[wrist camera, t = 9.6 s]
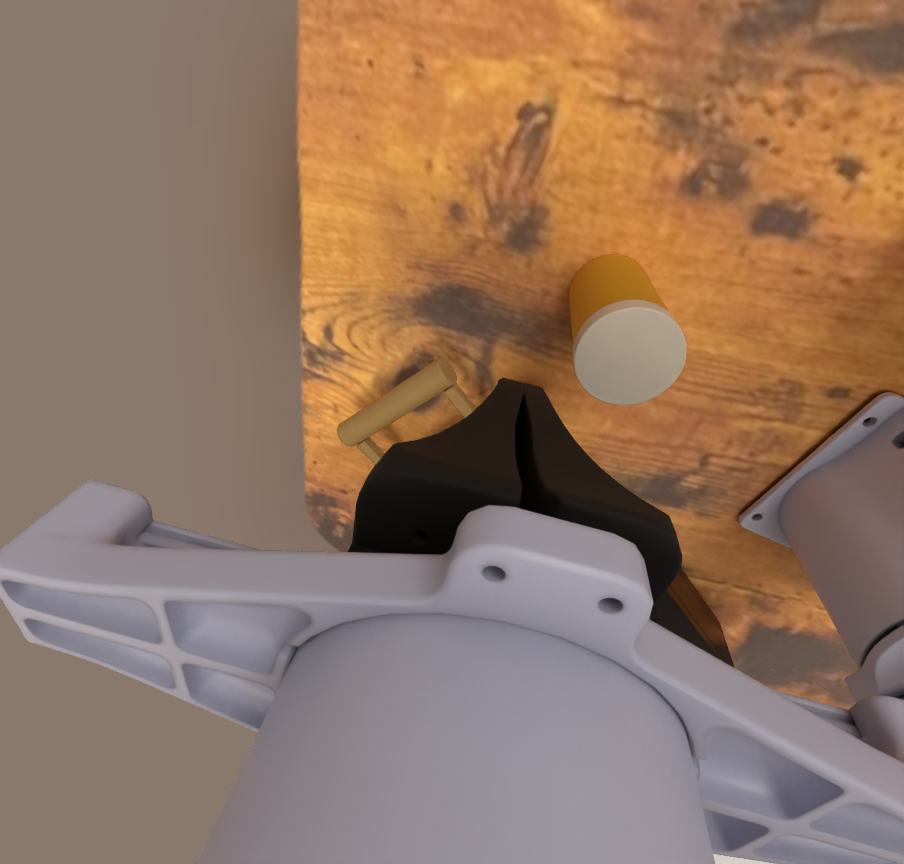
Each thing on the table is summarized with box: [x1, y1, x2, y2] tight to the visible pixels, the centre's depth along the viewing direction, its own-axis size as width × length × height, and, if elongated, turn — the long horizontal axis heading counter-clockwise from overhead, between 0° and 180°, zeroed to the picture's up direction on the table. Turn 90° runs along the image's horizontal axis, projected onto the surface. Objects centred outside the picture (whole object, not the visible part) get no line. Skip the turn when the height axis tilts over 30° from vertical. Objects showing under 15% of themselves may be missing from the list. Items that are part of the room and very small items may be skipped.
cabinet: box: [656, 569, 734, 668], centre depth 30 cm, size 14×13×5 cm
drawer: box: [337, 358, 476, 465], centre depth 26 cm, size 17×11×3 cm
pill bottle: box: [569, 254, 687, 405], centre depth 18 cm, size 4×4×7 cm
